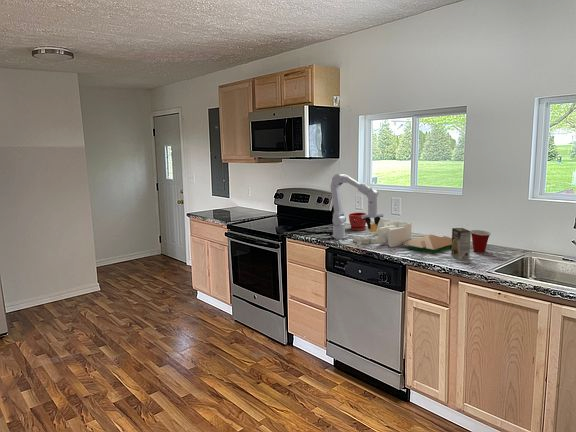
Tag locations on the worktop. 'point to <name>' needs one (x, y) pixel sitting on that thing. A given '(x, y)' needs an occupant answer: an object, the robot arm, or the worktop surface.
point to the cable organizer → (392, 236)
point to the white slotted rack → (390, 222)
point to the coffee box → (460, 243)
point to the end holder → (372, 240)
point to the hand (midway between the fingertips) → (372, 228)
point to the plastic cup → (479, 240)
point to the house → (429, 243)
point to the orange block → (373, 227)
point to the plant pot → (357, 221)
